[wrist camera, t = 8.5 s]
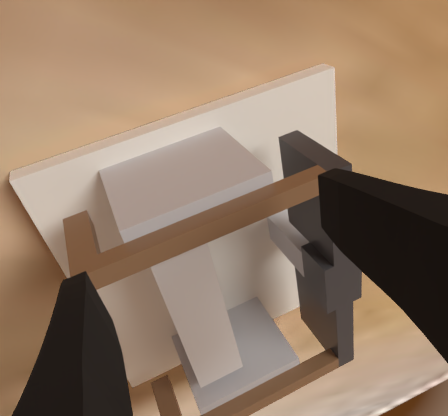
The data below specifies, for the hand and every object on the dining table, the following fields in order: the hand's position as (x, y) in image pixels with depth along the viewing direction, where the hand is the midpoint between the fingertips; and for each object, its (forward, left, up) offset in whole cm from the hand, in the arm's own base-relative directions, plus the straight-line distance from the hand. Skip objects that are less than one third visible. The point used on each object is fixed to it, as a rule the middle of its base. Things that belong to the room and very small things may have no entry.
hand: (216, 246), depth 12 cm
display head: (+2, -8, -9) cm, 12 cm away
